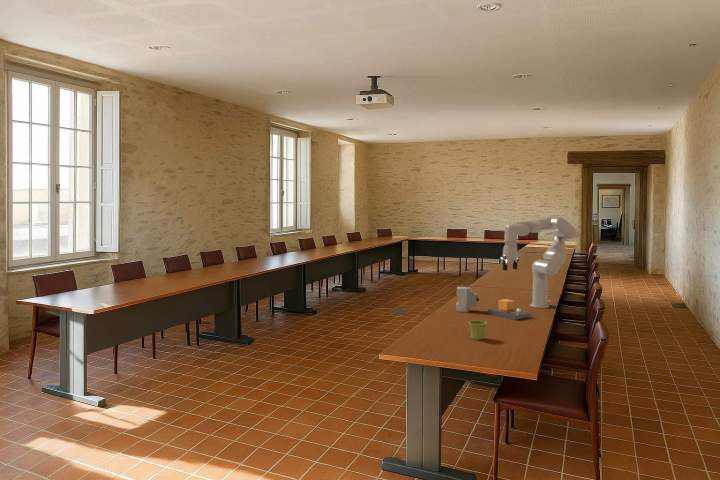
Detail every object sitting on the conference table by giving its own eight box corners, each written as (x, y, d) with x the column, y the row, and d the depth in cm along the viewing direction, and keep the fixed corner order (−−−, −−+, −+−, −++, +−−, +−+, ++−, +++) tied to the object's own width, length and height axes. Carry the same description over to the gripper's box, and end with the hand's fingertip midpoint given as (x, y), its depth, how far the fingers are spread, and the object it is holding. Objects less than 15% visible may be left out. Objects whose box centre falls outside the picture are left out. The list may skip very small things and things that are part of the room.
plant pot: (466, 339, 284) (466, 323, 283) (470, 335, 293) (470, 319, 292) (484, 341, 280) (485, 325, 280) (488, 337, 289) (488, 321, 288)
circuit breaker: (478, 312, 350) (479, 289, 348) (456, 311, 352) (456, 288, 351) (478, 310, 357) (479, 287, 356) (456, 309, 360) (456, 286, 358)
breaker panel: (502, 311, 355) (503, 306, 354) (530, 317, 336) (530, 312, 336) (487, 313, 347) (487, 308, 346) (515, 320, 329) (515, 315, 328)
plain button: (518, 313, 339) (518, 308, 339) (521, 314, 337) (521, 309, 337) (515, 314, 338) (516, 308, 338) (519, 315, 336) (519, 309, 336)
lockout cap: (506, 307, 352) (506, 298, 351) (514, 309, 346) (514, 300, 345) (498, 308, 348) (498, 300, 348) (506, 310, 342) (506, 301, 342)
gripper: (515, 242, 365) (514, 268, 366) (497, 243, 355) (496, 269, 357) (524, 243, 359) (523, 269, 360) (506, 244, 349) (505, 271, 351)
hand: (509, 269), depth 358 cm, fingers open, 9 cm apart
